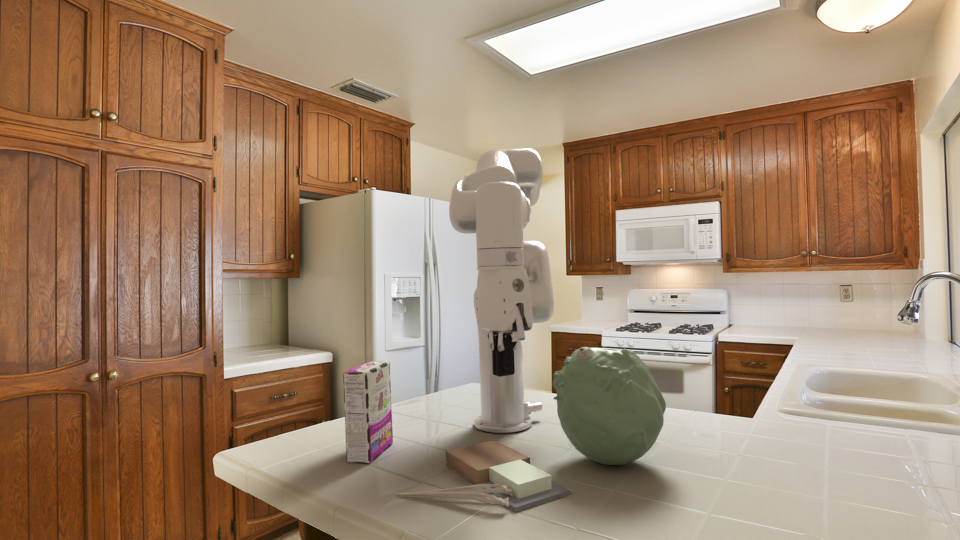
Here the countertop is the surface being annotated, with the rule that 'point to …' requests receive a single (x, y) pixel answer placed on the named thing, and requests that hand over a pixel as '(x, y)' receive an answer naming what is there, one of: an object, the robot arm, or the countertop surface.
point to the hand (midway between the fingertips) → (503, 374)
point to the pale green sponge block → (520, 478)
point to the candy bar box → (367, 411)
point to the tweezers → (468, 493)
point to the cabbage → (609, 404)
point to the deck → (481, 459)
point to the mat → (533, 496)
